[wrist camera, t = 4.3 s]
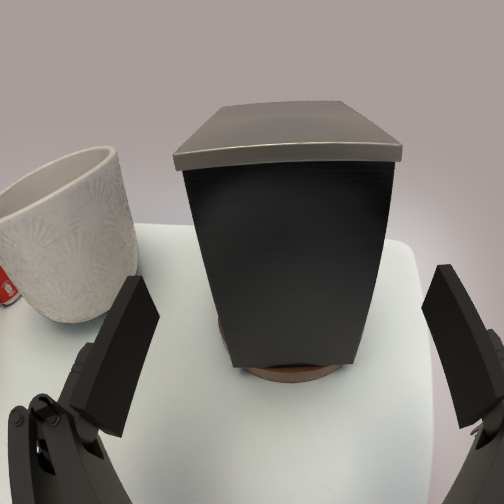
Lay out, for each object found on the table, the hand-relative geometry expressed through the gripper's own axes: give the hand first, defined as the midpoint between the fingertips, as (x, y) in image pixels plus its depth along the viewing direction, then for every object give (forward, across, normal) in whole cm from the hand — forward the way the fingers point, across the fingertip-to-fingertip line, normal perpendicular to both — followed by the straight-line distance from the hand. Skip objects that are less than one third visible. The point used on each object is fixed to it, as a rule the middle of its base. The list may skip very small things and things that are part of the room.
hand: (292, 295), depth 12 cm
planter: (+12, -23, -12) cm, 29 cm away
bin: (+9, 0, -10) cm, 14 cm away
